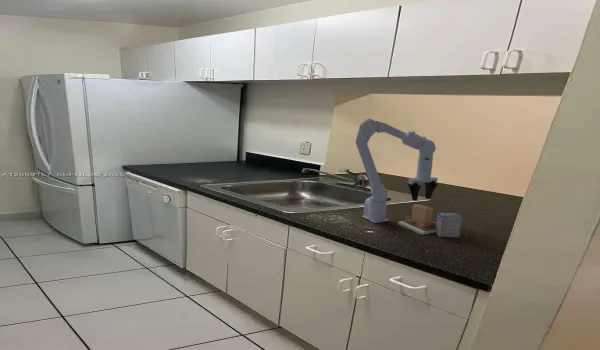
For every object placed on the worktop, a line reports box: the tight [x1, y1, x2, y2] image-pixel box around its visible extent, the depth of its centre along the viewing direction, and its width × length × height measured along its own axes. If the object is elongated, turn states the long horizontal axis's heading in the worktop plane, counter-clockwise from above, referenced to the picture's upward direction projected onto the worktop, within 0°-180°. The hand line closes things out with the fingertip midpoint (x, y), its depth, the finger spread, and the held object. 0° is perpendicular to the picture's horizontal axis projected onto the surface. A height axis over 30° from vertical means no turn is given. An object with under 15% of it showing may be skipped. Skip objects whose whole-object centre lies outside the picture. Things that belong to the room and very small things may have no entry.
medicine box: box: [434, 212, 463, 238], centre depth 137 cm, size 8×4×9 cm, turn 92°
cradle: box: [397, 215, 437, 236], centre depth 146 cm, size 14×12×3 cm
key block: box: [411, 203, 434, 225], centre depth 145 cm, size 4×7×8 cm, turn 27°
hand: (421, 199), depth 150 cm, fingers open, 7 cm apart
